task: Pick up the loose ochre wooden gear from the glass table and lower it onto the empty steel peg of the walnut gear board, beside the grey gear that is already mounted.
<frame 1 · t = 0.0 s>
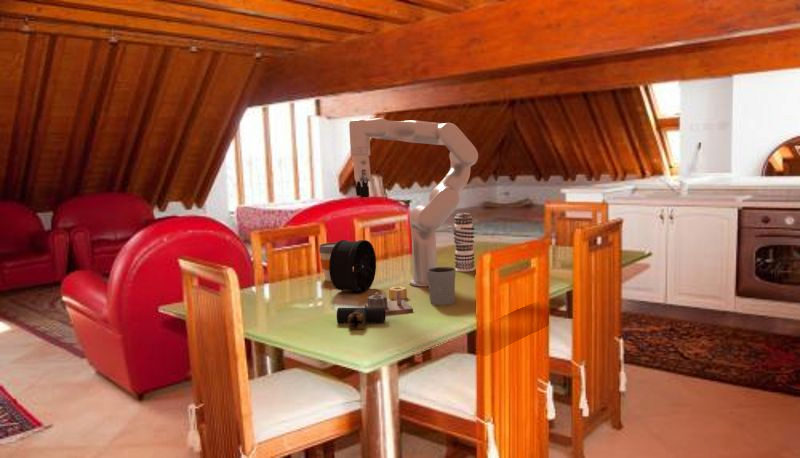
hand: (362, 196, 248), 37 cm above the table, tool pointing down, fingers open, 9 cm apart
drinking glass: (442, 303, 227), on the table
gear board: (388, 309, 220), on the table
reusable coffee cup: (335, 279, 275), on the table
pipe connector: (359, 326, 203), on the table
ochre gear: (398, 297, 236), on the table
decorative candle: (465, 269, 283), on the table
car wheel rim: (354, 291, 252), on the table
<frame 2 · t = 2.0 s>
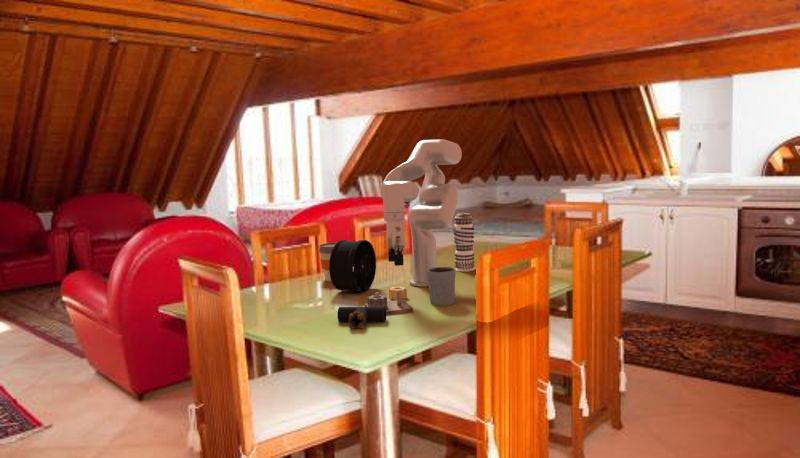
hand: (395, 263, 234), 13 cm above the table, tool pointing down, fingers open, 9 cm apart
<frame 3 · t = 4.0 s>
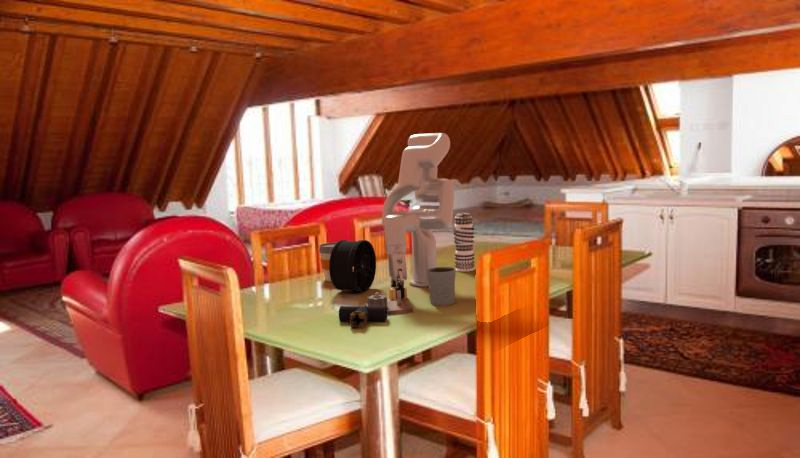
hand: (398, 296, 236), 1 cm above the table, tool pointing down, fingers closed on ochre gear, 6 cm apart
ochre gear: (398, 297, 236), on the table, touching gripper
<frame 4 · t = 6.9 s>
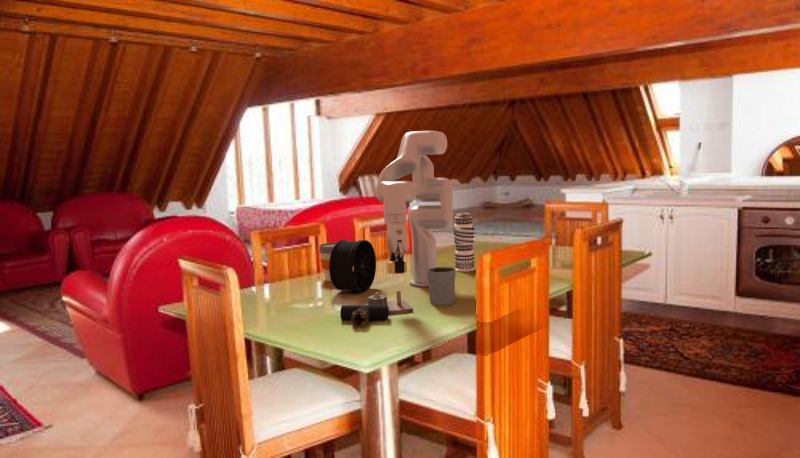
hand: (397, 270, 219), 13 cm above the table, tool pointing down, fingers closed on ochre gear, 6 cm apart
pipe connector: (362, 324, 206), on the table
ochre gear: (397, 272, 219), point 13 cm above the table, touching gripper
everything else where it was.
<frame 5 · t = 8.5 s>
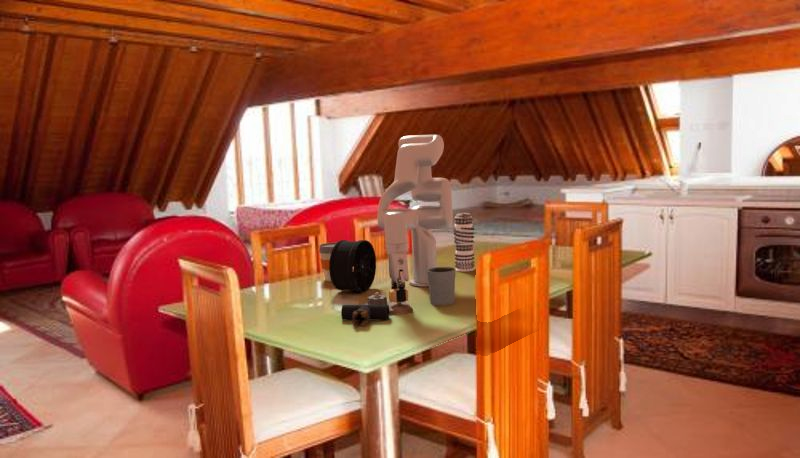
hand: (398, 298, 221), 3 cm above the table, tool pointing down, fingers closed on ochre gear, 6 cm apart
ochre gear: (398, 300, 221), point 3 cm above the table, touching gripper
when the fingers open (3 cm above the table, at t = 9.8 s): ochre gear drops 1 cm, resting on gear board.
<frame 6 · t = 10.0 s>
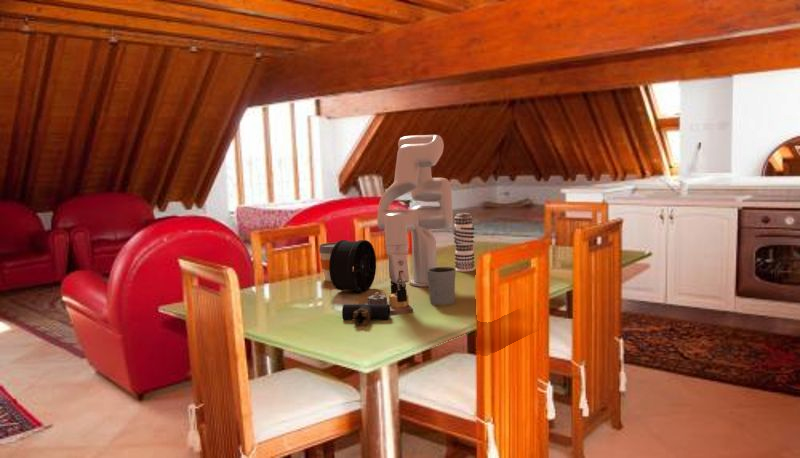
hand: (398, 298, 221), 4 cm above the table, tool pointing down, fingers open, 8 cm apart
ochre gear: (399, 305, 221), point 1 cm above the table, touching gear board
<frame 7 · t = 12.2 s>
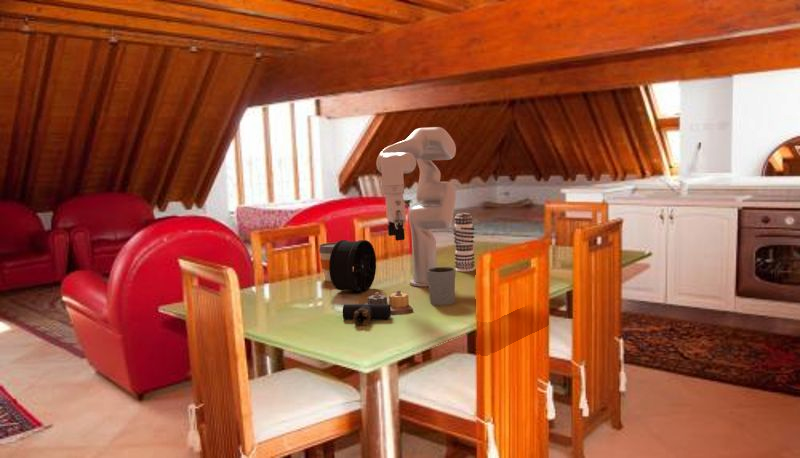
hand: (396, 237, 228), 23 cm above the table, tool pointing down, fingers open, 9 cm apart
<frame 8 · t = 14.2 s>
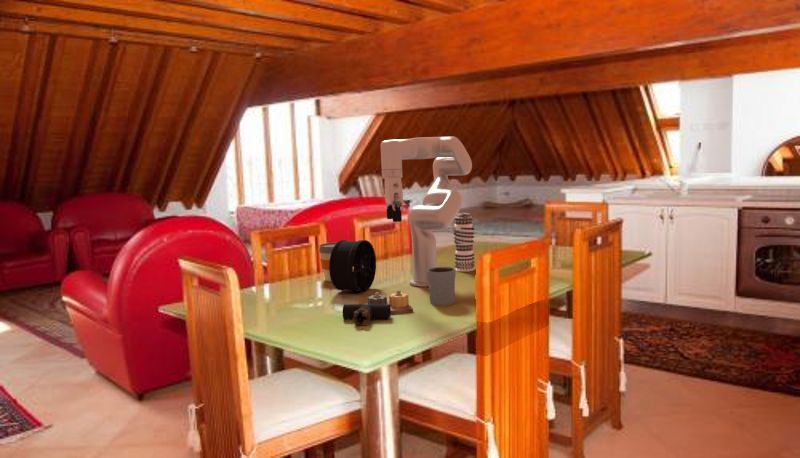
hand: (394, 220, 238), 28 cm above the table, tool pointing down, fingers open, 9 cm apart
at the end: ochre gear 0.0 cm from the target spot on the gear board, point 1.2 cm above the gear board's base; ochre gear tilted 0°; the gripper is holding nothing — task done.
